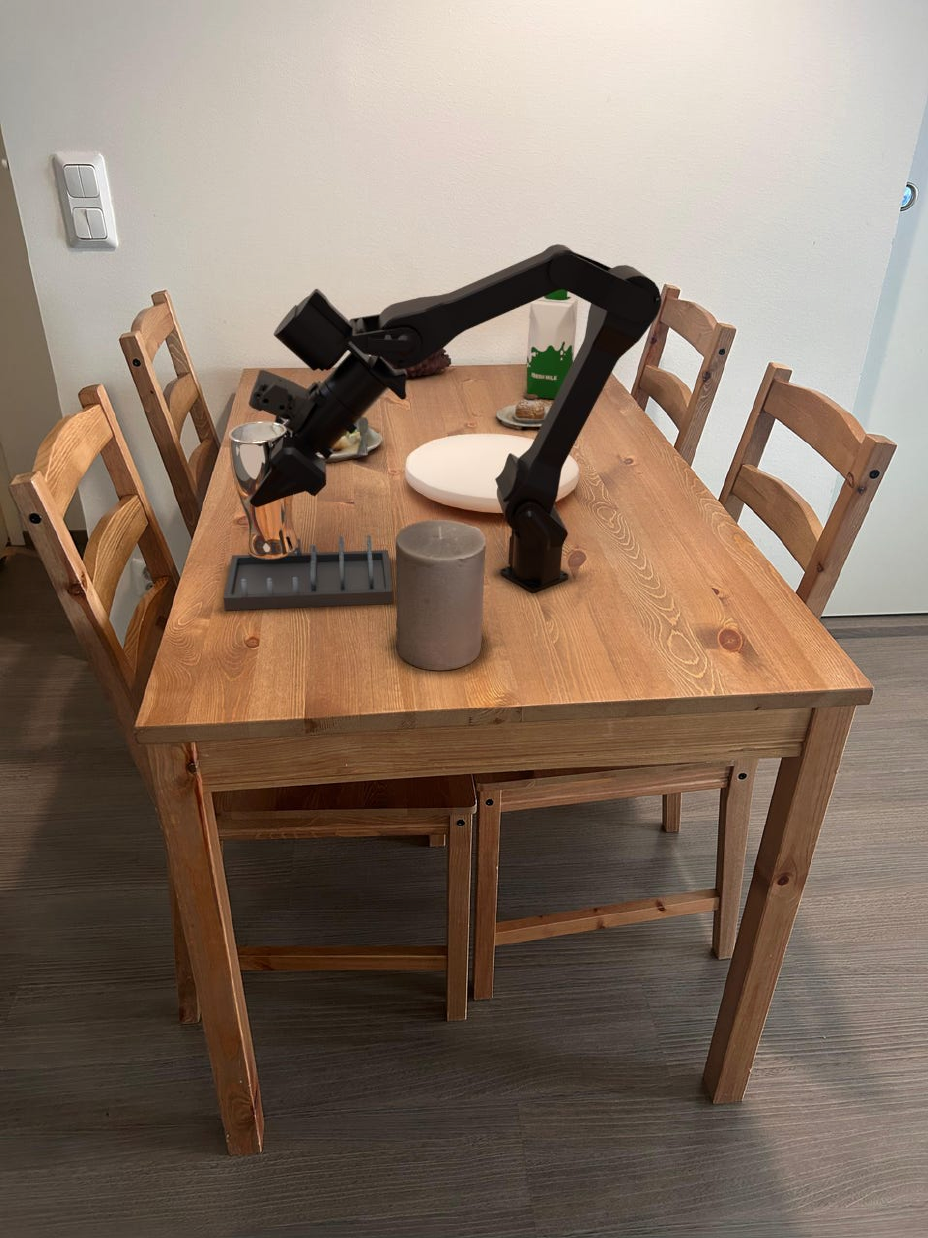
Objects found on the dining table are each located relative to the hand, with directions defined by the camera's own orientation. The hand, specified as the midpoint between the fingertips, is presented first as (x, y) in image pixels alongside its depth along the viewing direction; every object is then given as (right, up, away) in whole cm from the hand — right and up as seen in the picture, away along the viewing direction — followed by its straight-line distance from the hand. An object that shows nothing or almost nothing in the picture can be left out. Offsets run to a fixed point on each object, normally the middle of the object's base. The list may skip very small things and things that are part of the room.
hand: (254, 492), depth 109 cm
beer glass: (+1, -6, +4) cm, 8 cm away
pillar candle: (+22, -18, -4) cm, 29 cm away
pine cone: (+14, +36, +85) cm, 93 cm away
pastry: (+37, +21, +62) cm, 75 cm away
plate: (+29, +5, +35) cm, 45 cm away
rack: (+5, -11, +7) cm, 14 cm away
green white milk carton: (+41, +30, +76) cm, 91 cm away
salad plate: (+2, +15, +50) cm, 52 cm away
